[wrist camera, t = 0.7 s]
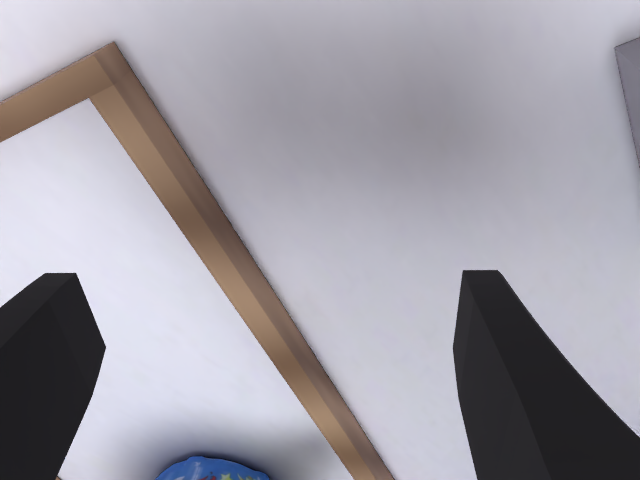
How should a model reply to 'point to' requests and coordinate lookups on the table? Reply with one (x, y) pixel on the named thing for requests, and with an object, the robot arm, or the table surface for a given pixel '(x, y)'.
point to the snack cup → (210, 470)
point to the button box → (631, 84)
